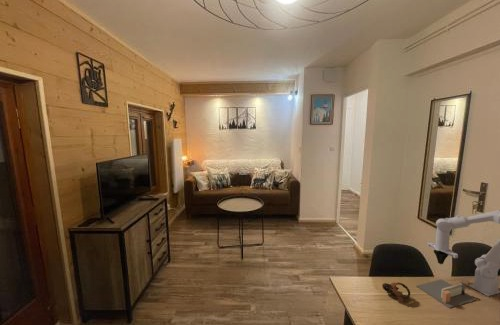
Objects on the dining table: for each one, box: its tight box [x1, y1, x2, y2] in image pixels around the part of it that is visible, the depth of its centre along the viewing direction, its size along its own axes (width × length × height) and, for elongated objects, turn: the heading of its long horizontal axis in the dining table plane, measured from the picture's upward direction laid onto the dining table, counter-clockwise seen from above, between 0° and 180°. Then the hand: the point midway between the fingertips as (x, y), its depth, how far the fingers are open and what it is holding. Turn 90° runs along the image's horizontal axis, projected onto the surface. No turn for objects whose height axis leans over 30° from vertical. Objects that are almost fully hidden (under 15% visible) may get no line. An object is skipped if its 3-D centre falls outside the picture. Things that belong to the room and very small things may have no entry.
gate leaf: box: [441, 283, 462, 298], centre depth 111 cm, size 12×1×5 cm, turn 105°
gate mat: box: [416, 278, 477, 309], centre depth 114 cm, size 18×16×1 cm
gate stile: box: [442, 290, 451, 303], centre depth 108 cm, size 3×2×5 cm, turn 104°
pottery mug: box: [381, 282, 411, 303], centre depth 113 cm, size 12×10×8 cm
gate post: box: [459, 281, 466, 295], centre depth 113 cm, size 2×2×6 cm
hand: (440, 263), depth 124 cm, fingers closed
